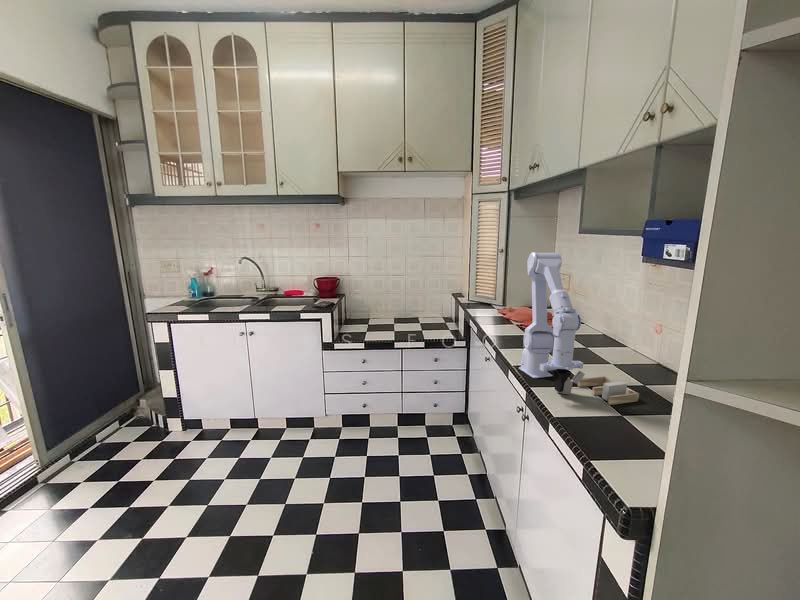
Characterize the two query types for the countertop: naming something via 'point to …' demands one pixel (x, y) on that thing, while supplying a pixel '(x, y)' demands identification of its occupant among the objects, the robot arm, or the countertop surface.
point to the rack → (616, 399)
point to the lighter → (569, 382)
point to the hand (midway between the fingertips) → (558, 390)
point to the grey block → (613, 389)
